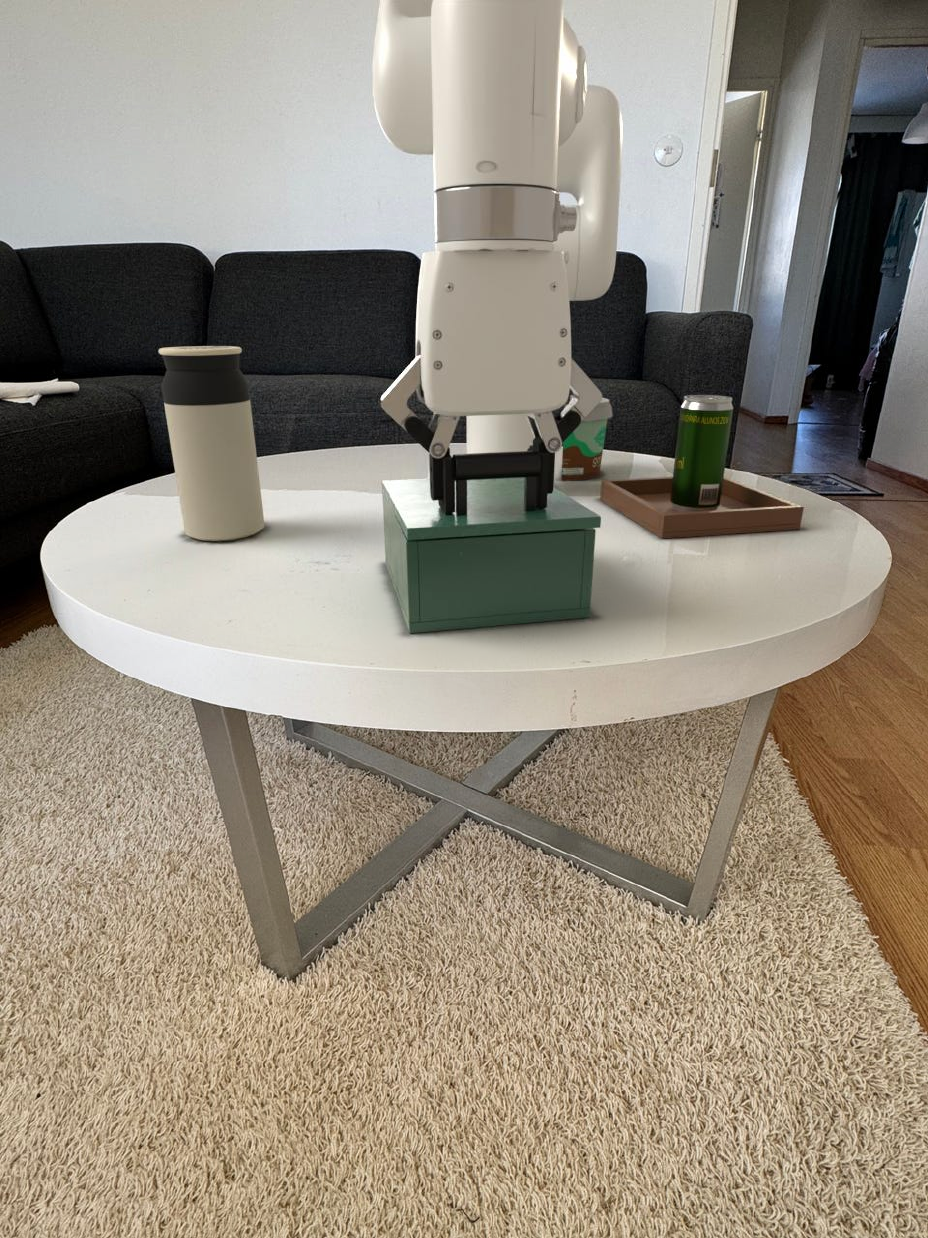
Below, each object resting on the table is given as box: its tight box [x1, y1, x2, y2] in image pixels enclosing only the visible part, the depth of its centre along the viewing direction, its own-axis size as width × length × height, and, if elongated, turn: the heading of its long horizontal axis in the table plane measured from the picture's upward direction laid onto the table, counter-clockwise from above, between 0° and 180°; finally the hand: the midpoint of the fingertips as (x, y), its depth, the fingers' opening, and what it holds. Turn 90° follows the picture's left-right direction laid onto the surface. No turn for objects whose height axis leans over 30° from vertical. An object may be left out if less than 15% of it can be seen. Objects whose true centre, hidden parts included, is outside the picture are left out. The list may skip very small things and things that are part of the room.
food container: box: [560, 394, 613, 481], centre depth 99 cm, size 12×6×10 cm, turn 168°
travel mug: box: [157, 345, 265, 542], centre depth 72 cm, size 8×8×18 cm
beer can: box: [670, 394, 734, 512], centre depth 78 cm, size 5×5×12 cm
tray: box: [599, 475, 805, 540], centre depth 81 cm, size 17×16×2 cm
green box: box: [381, 490, 597, 634], centre depth 58 cm, size 16×14×7 cm
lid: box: [381, 451, 602, 540], centre depth 55 cm, size 16×14×5 cm
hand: (491, 504), depth 53 cm, fingers closed on lid, 6 cm apart
